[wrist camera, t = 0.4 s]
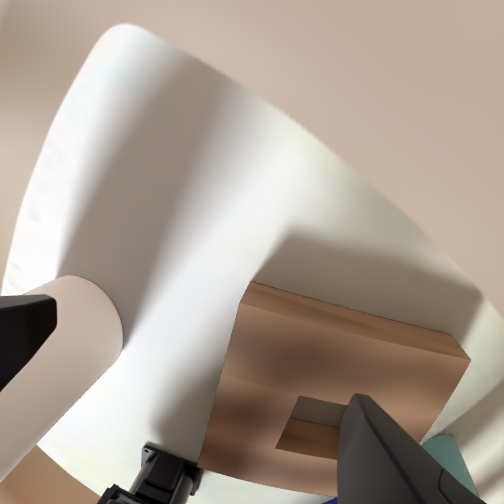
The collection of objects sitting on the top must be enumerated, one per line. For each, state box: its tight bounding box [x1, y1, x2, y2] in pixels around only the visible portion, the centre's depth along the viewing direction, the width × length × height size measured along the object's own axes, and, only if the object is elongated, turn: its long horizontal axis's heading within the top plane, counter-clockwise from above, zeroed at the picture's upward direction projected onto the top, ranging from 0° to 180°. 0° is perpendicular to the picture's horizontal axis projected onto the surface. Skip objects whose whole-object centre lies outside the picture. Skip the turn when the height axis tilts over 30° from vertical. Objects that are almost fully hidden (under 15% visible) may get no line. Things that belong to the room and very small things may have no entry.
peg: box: [422, 434, 479, 497], centre depth 19 cm, size 4×4×10 cm
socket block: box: [197, 281, 471, 497], centre depth 22 cm, size 16×16×4 cm
